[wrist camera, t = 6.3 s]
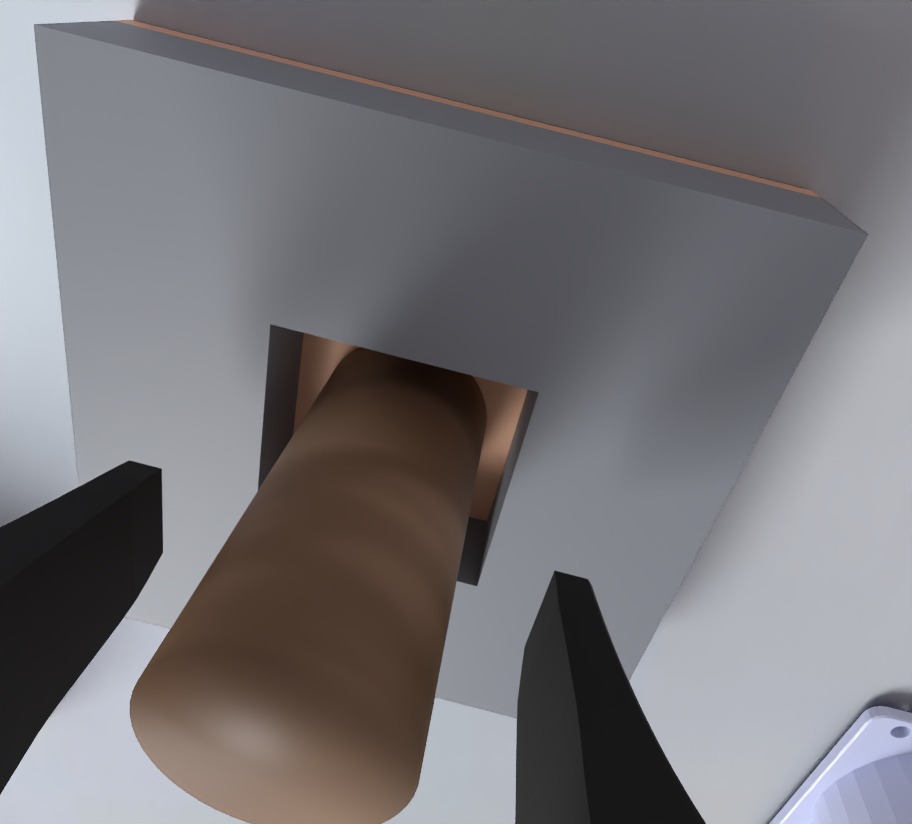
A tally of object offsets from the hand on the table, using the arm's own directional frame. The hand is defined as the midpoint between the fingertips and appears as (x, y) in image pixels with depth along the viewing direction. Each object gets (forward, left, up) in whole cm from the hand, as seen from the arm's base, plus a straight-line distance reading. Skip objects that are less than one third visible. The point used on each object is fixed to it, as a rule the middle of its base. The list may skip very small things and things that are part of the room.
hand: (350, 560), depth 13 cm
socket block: (0, 0, -6) cm, 6 cm away
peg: (0, 0, -5) cm, 5 cm away
